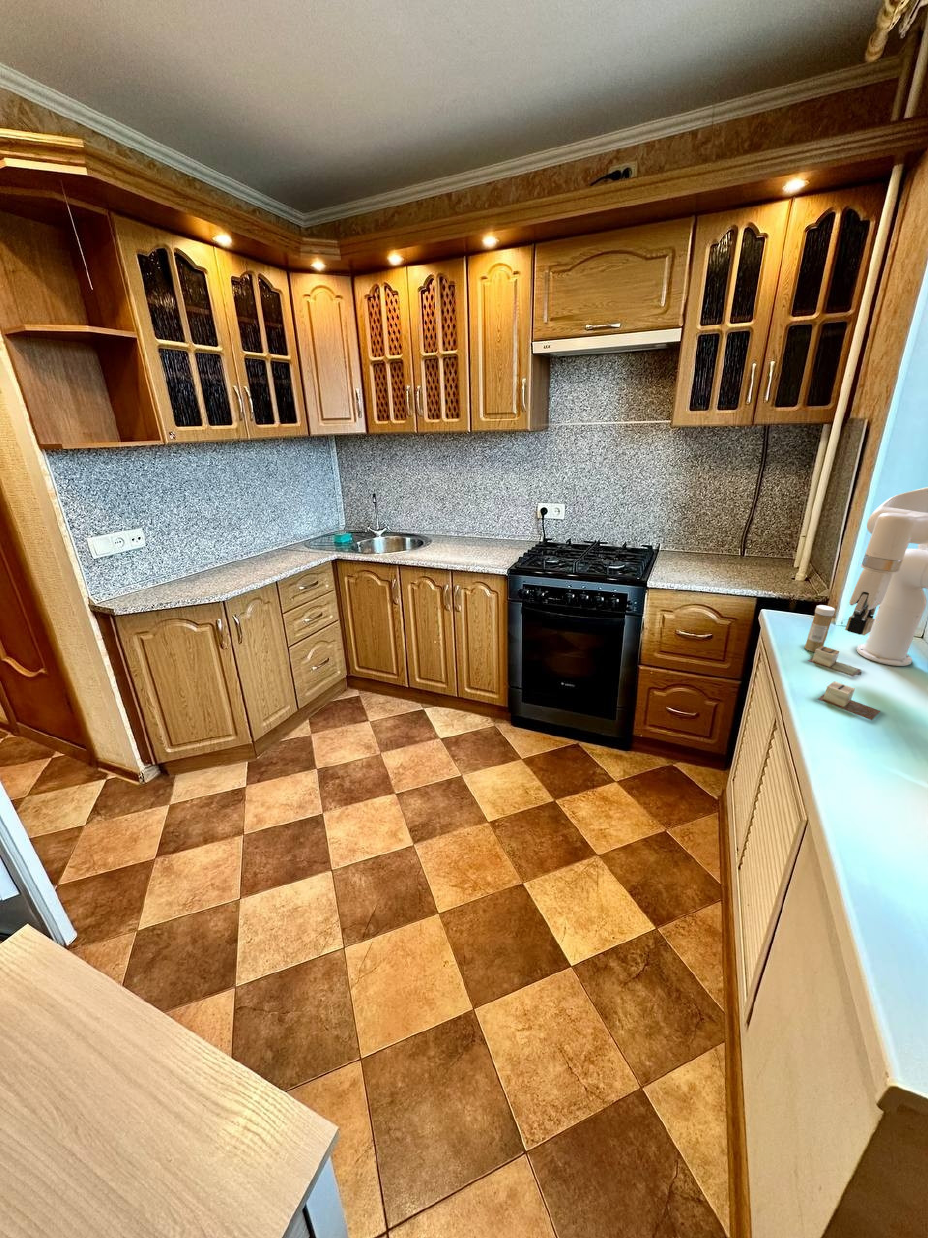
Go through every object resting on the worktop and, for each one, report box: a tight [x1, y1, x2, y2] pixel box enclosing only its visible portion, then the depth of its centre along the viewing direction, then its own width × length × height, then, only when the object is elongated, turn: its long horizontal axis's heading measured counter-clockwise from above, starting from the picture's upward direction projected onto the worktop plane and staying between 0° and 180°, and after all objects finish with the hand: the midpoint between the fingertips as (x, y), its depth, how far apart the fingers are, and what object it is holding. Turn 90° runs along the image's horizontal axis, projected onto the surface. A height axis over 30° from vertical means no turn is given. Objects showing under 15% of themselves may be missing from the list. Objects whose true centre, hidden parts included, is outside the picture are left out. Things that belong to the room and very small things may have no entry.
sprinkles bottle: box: [804, 604, 836, 653], centre depth 148 cm, size 5×5×14 cm
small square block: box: [844, 615, 875, 636], centre depth 133 cm, size 4×4×4 cm
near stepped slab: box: [817, 681, 881, 721], centre depth 120 cm, size 6×11×4 cm, turn 38°
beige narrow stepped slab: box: [807, 645, 862, 677], centre depth 139 cm, size 6×11×4 cm, turn 38°
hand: (857, 629), depth 133 cm, fingers closed on small square block, 4 cm apart
